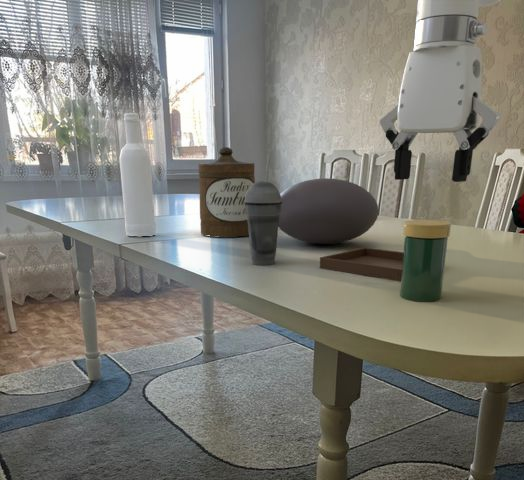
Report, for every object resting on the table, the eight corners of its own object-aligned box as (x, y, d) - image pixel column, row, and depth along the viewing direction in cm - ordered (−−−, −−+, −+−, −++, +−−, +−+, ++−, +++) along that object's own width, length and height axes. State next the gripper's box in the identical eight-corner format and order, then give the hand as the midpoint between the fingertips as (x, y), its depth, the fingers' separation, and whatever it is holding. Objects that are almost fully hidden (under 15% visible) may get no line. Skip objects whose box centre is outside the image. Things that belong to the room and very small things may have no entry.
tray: (441, 267, 102) (442, 257, 101) (401, 281, 92) (402, 269, 91) (363, 257, 113) (364, 247, 112) (319, 267, 103) (319, 257, 102)
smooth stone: (377, 253, 117) (382, 181, 112) (263, 250, 121) (263, 181, 116) (375, 236, 140) (379, 176, 135) (280, 234, 144) (280, 176, 139)
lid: (457, 234, 79) (459, 222, 78) (437, 239, 74) (438, 226, 74) (416, 230, 83) (417, 218, 82) (395, 235, 78) (396, 222, 78)
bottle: (122, 237, 141) (110, 112, 131) (130, 233, 149) (119, 114, 139) (152, 237, 141) (143, 112, 131) (159, 233, 149) (150, 114, 138)
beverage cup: (252, 258, 112) (251, 156, 105) (286, 260, 110) (287, 155, 103) (239, 265, 105) (237, 156, 99) (275, 267, 103) (275, 156, 96)
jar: (448, 296, 82) (456, 225, 78) (429, 304, 78) (437, 229, 74) (411, 289, 86) (418, 222, 82) (392, 297, 82) (397, 226, 78)
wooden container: (211, 239, 137) (207, 147, 130) (194, 232, 150) (189, 147, 143) (264, 235, 143) (264, 146, 135) (243, 229, 156) (242, 147, 148)
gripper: (524, 34, 67) (502, 181, 73) (398, 50, 78) (388, 177, 84) (501, 23, 62) (480, 183, 68) (370, 43, 73) (362, 179, 79)
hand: (429, 179), depth 76 cm, fingers open, 8 cm apart
